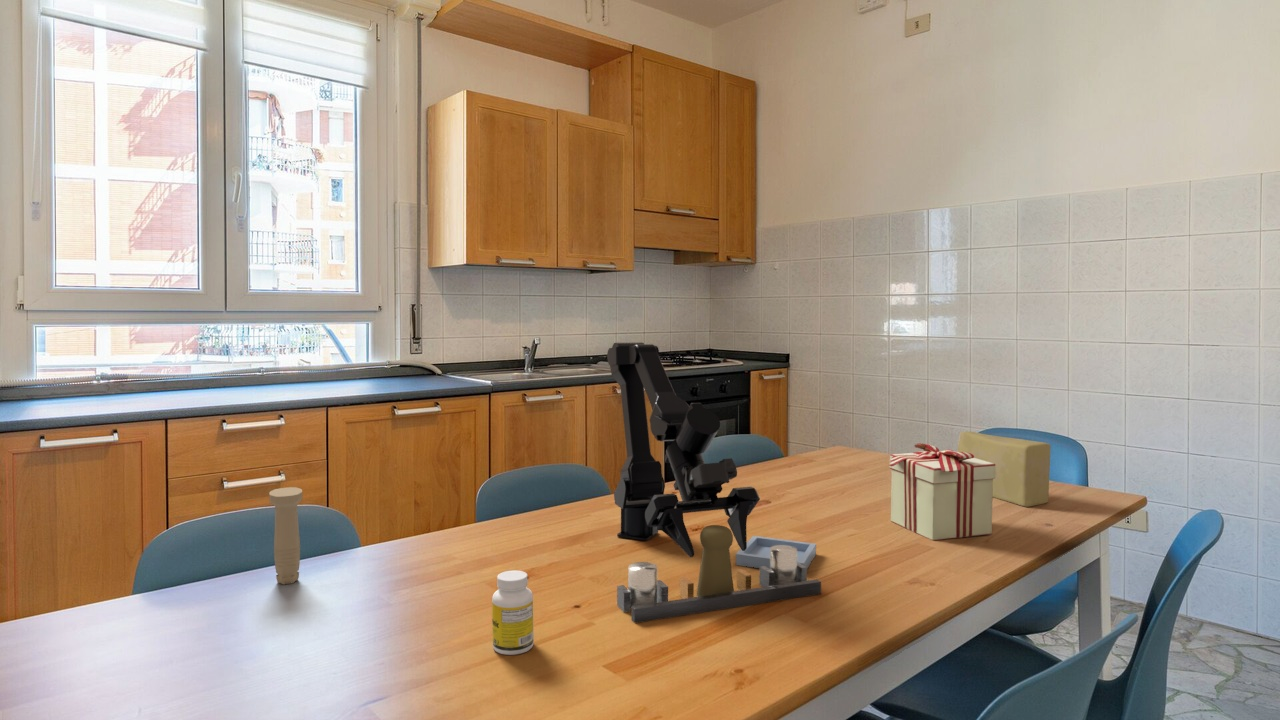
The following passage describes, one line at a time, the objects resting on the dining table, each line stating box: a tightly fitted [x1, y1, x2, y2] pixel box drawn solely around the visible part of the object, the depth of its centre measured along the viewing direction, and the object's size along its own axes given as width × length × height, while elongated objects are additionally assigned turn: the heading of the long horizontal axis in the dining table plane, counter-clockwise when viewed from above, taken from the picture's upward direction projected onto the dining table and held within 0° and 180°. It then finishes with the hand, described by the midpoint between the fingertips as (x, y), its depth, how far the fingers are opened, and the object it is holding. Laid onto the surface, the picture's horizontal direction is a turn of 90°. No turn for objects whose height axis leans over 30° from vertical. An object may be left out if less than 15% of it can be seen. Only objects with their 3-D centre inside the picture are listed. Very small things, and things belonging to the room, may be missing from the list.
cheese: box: [956, 430, 1052, 508], centre depth 185 cm, size 22×10×15 cm, turn 30°
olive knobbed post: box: [696, 524, 735, 597], centre depth 118 cm, size 6×6×11 cm
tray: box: [735, 535, 817, 569], centre depth 135 cm, size 12×12×2 cm
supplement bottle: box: [491, 570, 534, 656], centre depth 99 cm, size 5×5×10 cm
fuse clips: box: [616, 545, 822, 624], centre depth 116 cm, size 8×32×6 cm, turn 112°
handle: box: [268, 486, 303, 585], centre depth 122 cm, size 5×6×15 cm
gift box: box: [888, 442, 996, 541], centre depth 155 cm, size 17×18×17 cm
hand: (718, 552), depth 117 cm, fingers open, 9 cm apart
